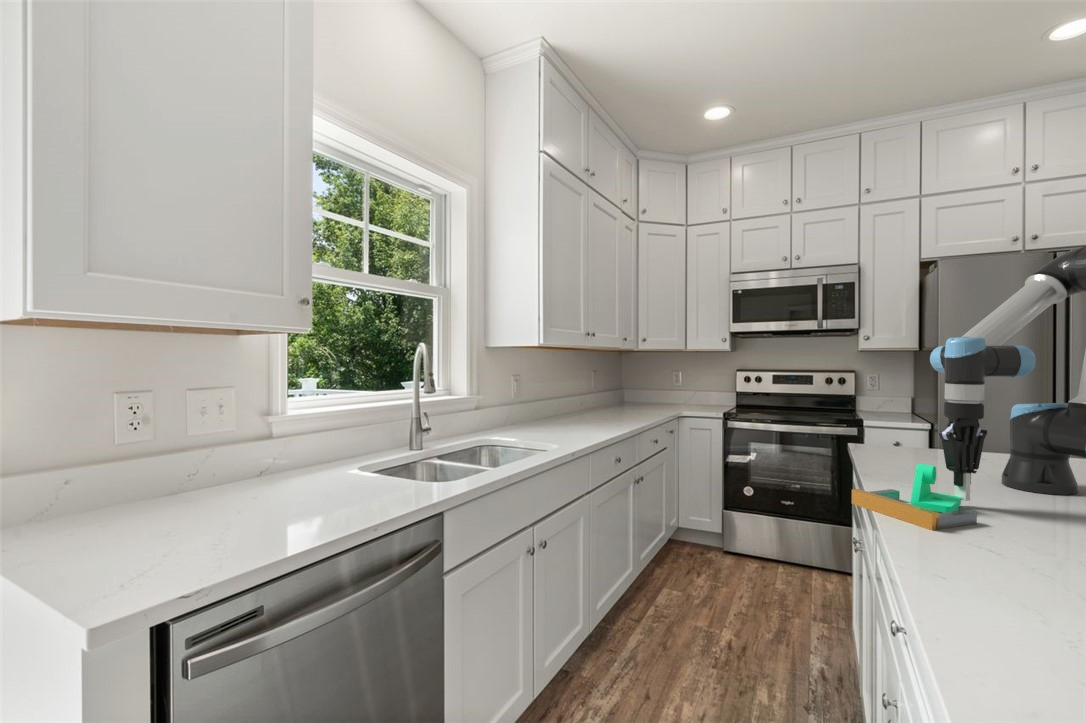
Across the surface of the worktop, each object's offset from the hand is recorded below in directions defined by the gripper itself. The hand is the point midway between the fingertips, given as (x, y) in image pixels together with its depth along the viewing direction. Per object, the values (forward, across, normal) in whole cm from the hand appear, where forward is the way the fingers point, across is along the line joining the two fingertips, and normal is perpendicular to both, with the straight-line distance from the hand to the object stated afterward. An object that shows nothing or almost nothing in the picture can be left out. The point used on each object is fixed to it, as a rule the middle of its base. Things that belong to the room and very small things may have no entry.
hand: (961, 499), depth 128 cm
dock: (+2, +16, 0) cm, 16 cm away
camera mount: (+2, +7, -1) cm, 8 cm away
